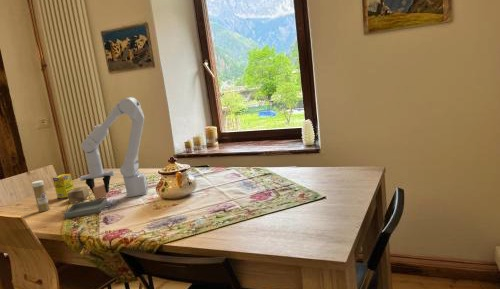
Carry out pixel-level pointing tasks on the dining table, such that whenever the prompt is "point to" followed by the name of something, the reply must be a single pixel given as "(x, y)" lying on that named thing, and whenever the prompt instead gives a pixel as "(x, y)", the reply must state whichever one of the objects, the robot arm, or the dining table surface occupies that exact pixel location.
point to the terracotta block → (100, 191)
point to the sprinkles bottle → (40, 195)
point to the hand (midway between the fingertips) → (101, 193)
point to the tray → (85, 208)
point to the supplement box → (63, 185)
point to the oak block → (78, 194)
